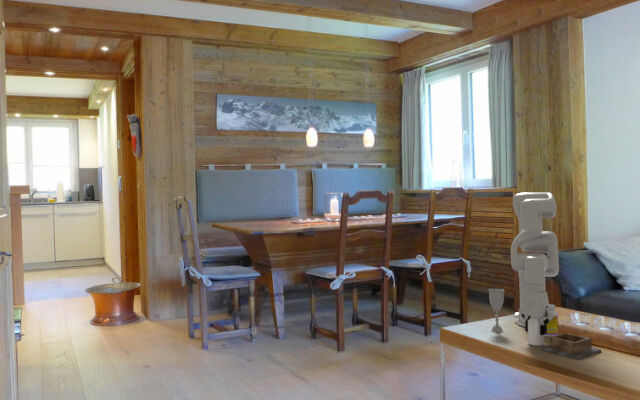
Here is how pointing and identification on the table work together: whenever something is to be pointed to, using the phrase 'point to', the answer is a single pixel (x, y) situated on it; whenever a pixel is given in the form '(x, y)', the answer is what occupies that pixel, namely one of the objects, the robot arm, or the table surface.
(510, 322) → the table surface
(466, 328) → the table surface
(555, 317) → the supplement bottle
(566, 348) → the brown wooden open box
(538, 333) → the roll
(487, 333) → the table surface
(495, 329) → the chalice
